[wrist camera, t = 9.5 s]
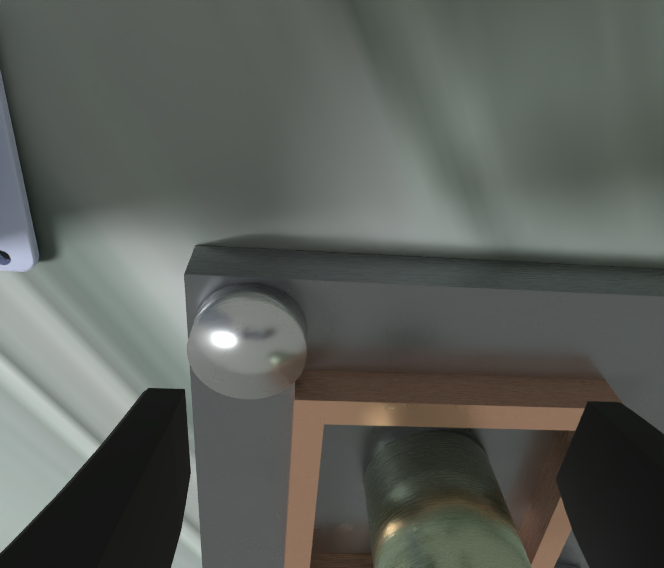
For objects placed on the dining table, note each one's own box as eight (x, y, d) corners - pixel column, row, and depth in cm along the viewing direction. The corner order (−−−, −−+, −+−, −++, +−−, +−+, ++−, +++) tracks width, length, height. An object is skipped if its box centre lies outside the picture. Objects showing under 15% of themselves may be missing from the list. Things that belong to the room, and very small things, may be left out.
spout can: (352, 516, 22) (372, 739, 15) (379, 423, 20) (416, 637, 13) (468, 527, 23) (536, 746, 16) (508, 438, 20) (606, 649, 14)
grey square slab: (211, 571, 27) (199, 647, 24) (195, 245, 18) (173, 300, 15) (559, 572, 28) (590, 643, 25) (703, 271, 19) (777, 326, 16)
